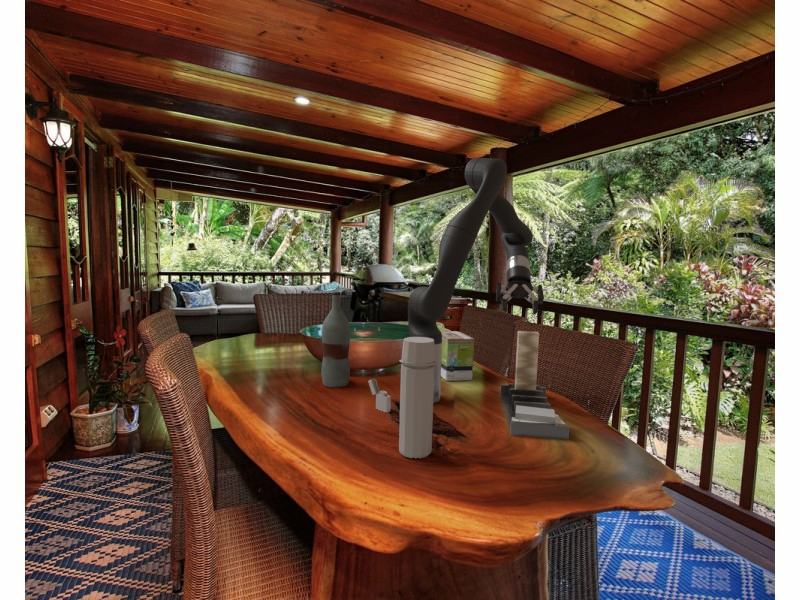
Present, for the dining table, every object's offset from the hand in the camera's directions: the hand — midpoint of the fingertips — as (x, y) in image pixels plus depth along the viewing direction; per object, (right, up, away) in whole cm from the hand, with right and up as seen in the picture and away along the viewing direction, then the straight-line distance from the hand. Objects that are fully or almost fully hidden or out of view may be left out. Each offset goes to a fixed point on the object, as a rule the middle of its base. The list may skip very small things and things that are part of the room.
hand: (520, 312), depth 137 cm
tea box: (-18, -23, +25) cm, 38 cm away
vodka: (-57, -24, +11) cm, 63 cm away
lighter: (-42, -27, -12) cm, 51 cm away
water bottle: (-33, -30, -38) cm, 58 cm away
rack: (-2, -28, -17) cm, 33 cm away
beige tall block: (0, -25, -6) cm, 26 cm away
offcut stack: (-3, -28, -28) cm, 39 cm away
